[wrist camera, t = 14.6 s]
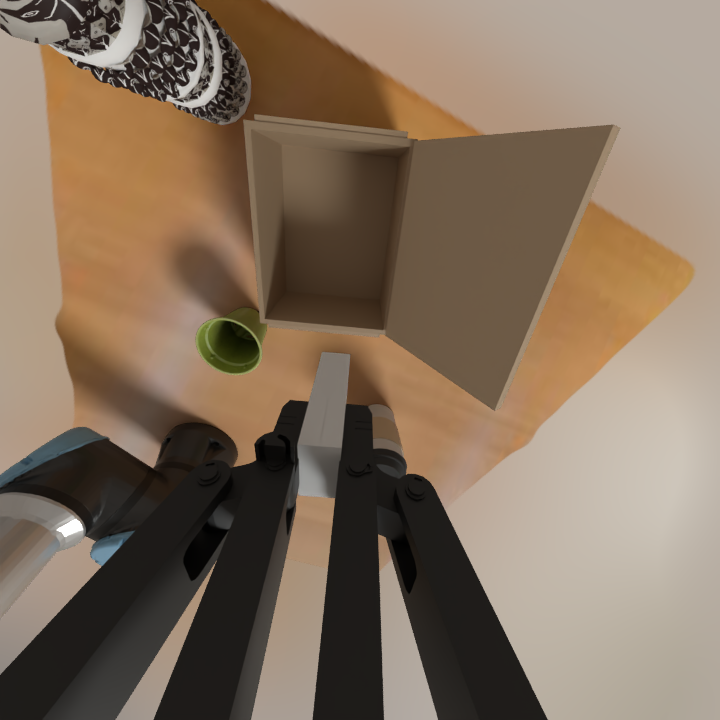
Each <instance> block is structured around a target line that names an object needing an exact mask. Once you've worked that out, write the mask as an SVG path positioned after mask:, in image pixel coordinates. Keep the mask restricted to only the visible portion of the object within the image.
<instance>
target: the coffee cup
mask: <svg viewBox="0 0 720 720" xmlns="http://www.w3.org/2000/svg"><path fill="white" fill-rule="evenodd" d="M368 407H369V409H370V411H371V412H372V424H373V457H374V461H375V463H376V465H377V466H378V468H379V469H380V470H381V471H383V472H384V473H386V474H388V475H390V476H393V477H396V478H398V479H400V478H401V477H402V476H404V475H406V469H407V464H406V461H405V459H404V457H403V456H404V453H403V449H402V445H401V441H400V437H399V433H398V429H397V426H396V423H395V419H394V415H393V412H392V411H391V409H389V408H388V407H386V406H384V405H381V404H373V405H369V406H368Z"/></svg>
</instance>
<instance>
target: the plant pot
mask: <svg viewBox="0 0 720 720" xmlns="http://www.w3.org/2000/svg"><path fill="white" fill-rule="evenodd" d="M234 322H235V323H236V326H237V327H235V326H234ZM266 331H267V324H264V323H260V315H259V313H258V312H257V311H256V310H254V309H252V308H247V307H243V308H239V309H237V310H235V311H233V312H231V313H230V314H228V315H226V316H224V317H219V318H214V319H210V320H208V321H206V322H205V323H203V324H202V325H201V326H200V328H199V329H198V331H197V334H196V339H195V340H196V346H197V350H198V352H199V354H200V356H201V357H202V359H203V360H204V361H205V362H206V363H207V364H208V365H209V366H211V367H212V368H214V369H215V370H217V371H219V372H222V373H225V374H229V375H243V374H246V373H249V372H251V371H253V370H254V369H255V368H256V367H257V366H258V365H259V363H260V361H261V358H262V343H263V340H264V337H265V334H266ZM247 336H253V337H254V338H249V337H247Z"/></svg>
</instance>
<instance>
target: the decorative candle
mask: <svg viewBox="0 0 720 720" xmlns="http://www.w3.org/2000/svg"><path fill="white" fill-rule="evenodd" d="M0 28H1V29H3V30H4V31H6V32H7V33H8V34H10V35H11V36H13V37H16V38H20V39H24V40H27V41H31V42H35V43H38V44H42V45H46V44H49V45H50V46H51V47H53V48H54V49H56V50H57V51H58V52H60V53H62V54H64V55H66V56H67V57H68V59H69V60H70V61H71V62H72V63H73V64H74V65H75V66H77V67H78V68H81V69H84V70H88V69H89V70H90V71H91V72H92V74H93V75H94V77H95V78H96V79H97V80H99V81H100V82H103V83H110V84H111V85H112V86H113V87H118V88H119V87H123V88H126V89H129V90H130V91H131V92H133V93H137V94H141V95H142V96H144V97H149V96H150V97H152V98H155V99H157V100H159V101H162V102H165V101H170V102H172V103H173V105H174V106H175V107H176V108H177V109H179V110H184V111H185V112H186V113H191V114H192V115H193V116H195V117H197V118H198V117H199V118H200V119H202V120H207V121H209V122H212V123H215V124H220V125H226V124H230V123H235V122H236V121H237V120H238V119H239V118H240V117H242V116H243V115H244V114H245V112H246V110H247V107H248V104H249V102H250V99H251V77H250V74H249V70H248V66H247V63H246V60H245V59H244V57H243V55H242V54H241V52H240V50H239V49H238V47H237V45H236V44H235V43H234V42H233V41H232V39H231V37H230V36H229V35H227V34H226V32H225V30H224V29H223V28H221V27H219V26H218V23H217V22H216V20H214V19H212V18H211V15H210V14H209V12H208V11H206V10H204V9H202V8H201V7H198V5H197V3H196V2H195V0H0ZM103 67H105V68H106V71H105V70H103Z"/></svg>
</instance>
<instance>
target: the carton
mask: <svg viewBox="0 0 720 720" xmlns="http://www.w3.org/2000/svg"><path fill="white" fill-rule="evenodd" d="M254 118H255V121H251V120H243V123H244V135H245V147H246V159H247V171H248V183H249V195H250V207H251V219H252V231H253V243H254V255H255V267H256V279H257V291H258V303H259V315H260V323H264V324H268V325H269V327H272V328H282V329H293V330H304V331H315V332H325V333H336V334H347V335H358V336H368V337H379V335H380V334H382V335H385V334H386V327H387V320H388V314H389V307H390V300H391V294H392V287H393V281H394V274H395V267H396V261H397V254H398V247H399V241H400V234H401V228H402V221H403V214H404V208H405V201H406V194H407V188H408V181H409V175H410V168H411V161H412V155H413V148H414V141H418V140H417V139H408V138H407V135H408V132H405V131H397V130H388V129H379V128H371V127H362V126H353V125H345V124H336V123H327V122H318V121H310V120H301V119H292V118H284V117H275V116H266V115H258V114H254Z"/></svg>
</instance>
